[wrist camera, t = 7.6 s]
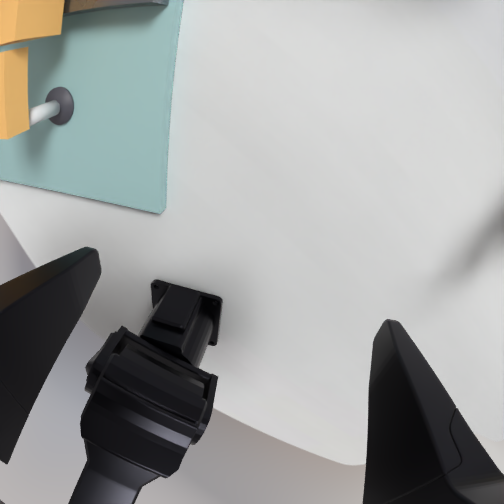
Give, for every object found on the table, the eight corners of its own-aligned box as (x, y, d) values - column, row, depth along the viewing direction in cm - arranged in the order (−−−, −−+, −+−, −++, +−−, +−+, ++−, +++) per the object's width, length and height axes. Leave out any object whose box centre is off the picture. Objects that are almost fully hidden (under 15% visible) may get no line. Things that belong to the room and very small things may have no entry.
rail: (168, 5, 14) (152, 1, 13) (-28, 43, 16) (-43, 47, 14) (173, -24, 13) (158, -30, 12) (-26, 25, 15) (-42, 28, 13)
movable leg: (73, 116, 19) (17, 141, 14) (37, 115, 19) (-17, 139, 14) (85, -32, 12) (25, -40, 8) (45, -21, 12) (-13, -20, 8)
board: (166, 207, 24) (159, 215, 23) (-14, 171, 25) (-21, 176, 24) (193, -53, 12) (186, -58, 11) (-19, 2, 14) (-28, 4, 13)
